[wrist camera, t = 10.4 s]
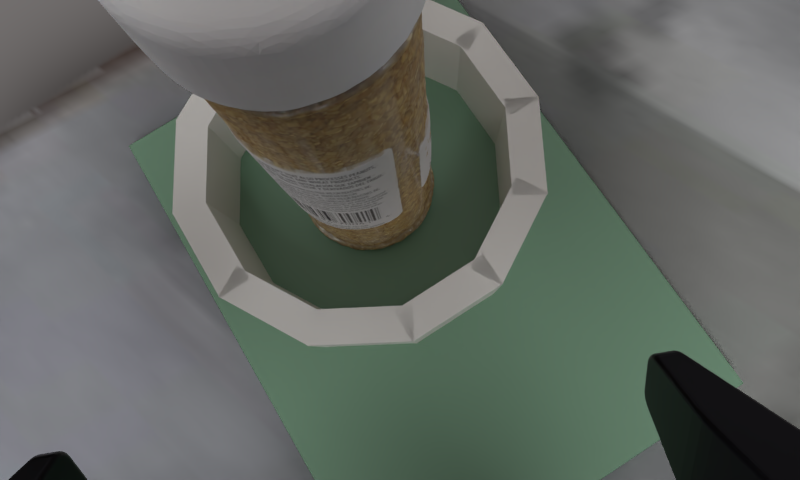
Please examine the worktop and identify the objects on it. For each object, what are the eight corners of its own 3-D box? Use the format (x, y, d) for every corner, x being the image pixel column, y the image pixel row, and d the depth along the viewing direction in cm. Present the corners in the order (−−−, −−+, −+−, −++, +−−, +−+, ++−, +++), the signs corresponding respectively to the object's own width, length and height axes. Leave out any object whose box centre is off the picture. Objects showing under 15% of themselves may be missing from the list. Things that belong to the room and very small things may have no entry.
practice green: (735, 382, 18) (804, 389, 15) (393, 612, 18) (383, 674, 14) (431, -28, 22) (430, -98, 18) (136, 150, 21) (78, 111, 18)
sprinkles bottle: (456, 161, 20) (500, -217, 7) (394, 277, 19) (304, 110, 6) (342, 106, 20) (177, -338, 7) (278, 216, 20) (-30, -55, 7)
